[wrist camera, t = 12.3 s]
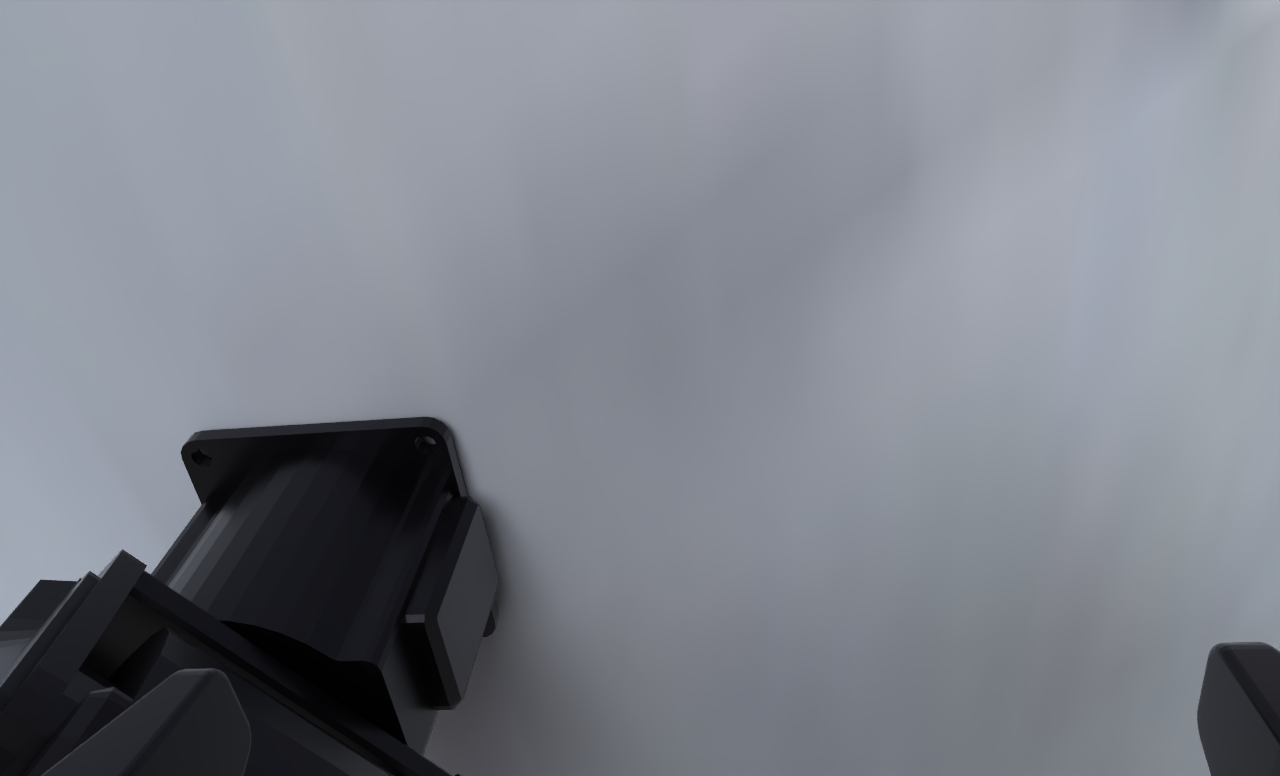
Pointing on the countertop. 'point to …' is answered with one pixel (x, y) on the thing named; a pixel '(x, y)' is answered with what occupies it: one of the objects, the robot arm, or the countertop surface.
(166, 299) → the countertop surface
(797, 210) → the countertop surface
